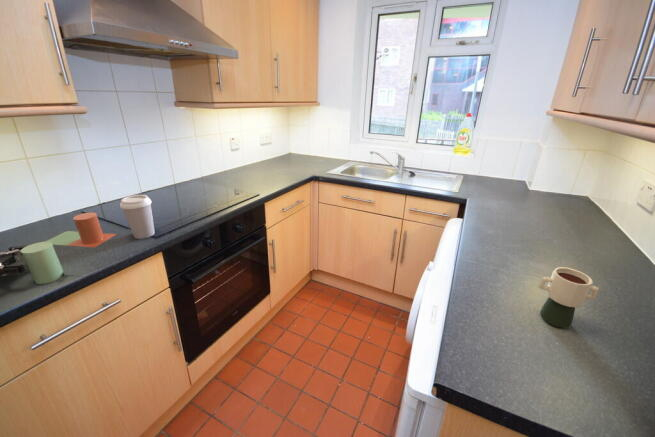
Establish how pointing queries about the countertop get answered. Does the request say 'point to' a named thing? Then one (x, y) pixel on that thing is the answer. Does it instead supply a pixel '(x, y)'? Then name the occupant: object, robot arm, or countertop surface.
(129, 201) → the coffee cup
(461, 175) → the countertop surface
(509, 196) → the countertop surface
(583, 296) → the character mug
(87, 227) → the orange cylinder on base
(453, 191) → the countertop surface
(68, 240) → the board
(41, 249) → the mint green cylinder
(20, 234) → the countertop surface
